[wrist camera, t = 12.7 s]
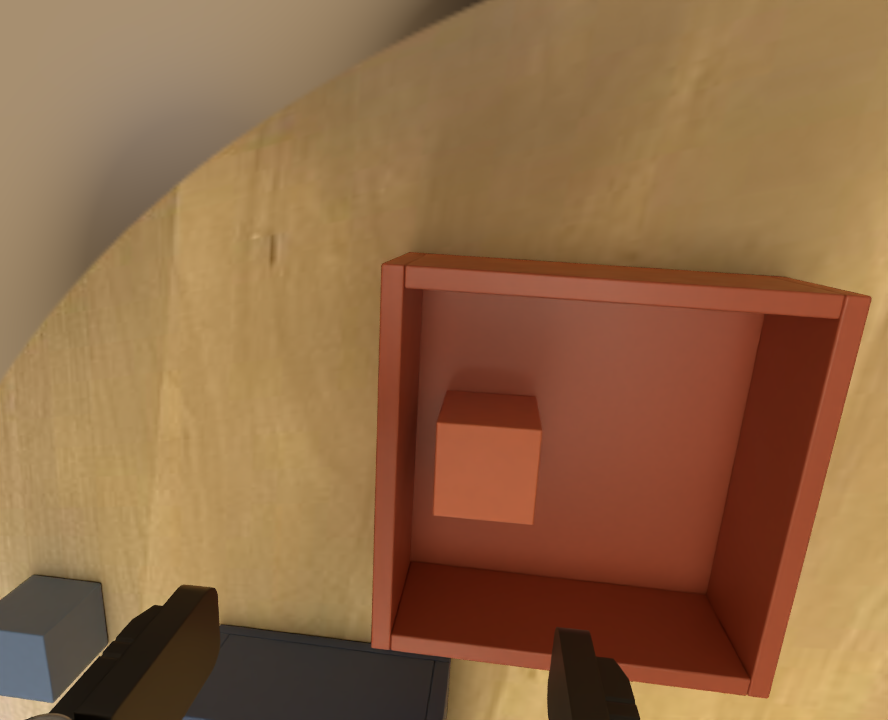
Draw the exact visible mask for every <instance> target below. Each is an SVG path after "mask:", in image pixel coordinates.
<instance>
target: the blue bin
mask: <svg viewBox="0 0 888 720" xmlns="http://www.w3.org/2000/svg"><path fill="white" fill-rule="evenodd" d="M450 664H451V658H447V657H439V656H432V655H424V654H416V653H408V652H400V651H393V650H391V648H390V650H384V649H376V648H372V647H371V644H370V643H362V642H355V641H347V640H339V639H331V638H323V637H315V636H307V635H300V634H292V633H284V632H276V631H268V630H260V629H252V628H245V627H237V626H229V625H220V649H219V654H218V658H217V661H216V664H215V666H214V668H213V670H212V672H211V674H210V675H209V677H208V679H207V680H206V682H205V684H204V685H203V687H202V688H201V690H200V692H199V693H198V695H197V696H196V698H195V700H194V701H193V703H192V705H191V706H190V708H189V709H188V711H187V713H186V714H185V716H184V718H183V719H182V720H446V719H447V706H448V692H449V678H450Z"/></svg>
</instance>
